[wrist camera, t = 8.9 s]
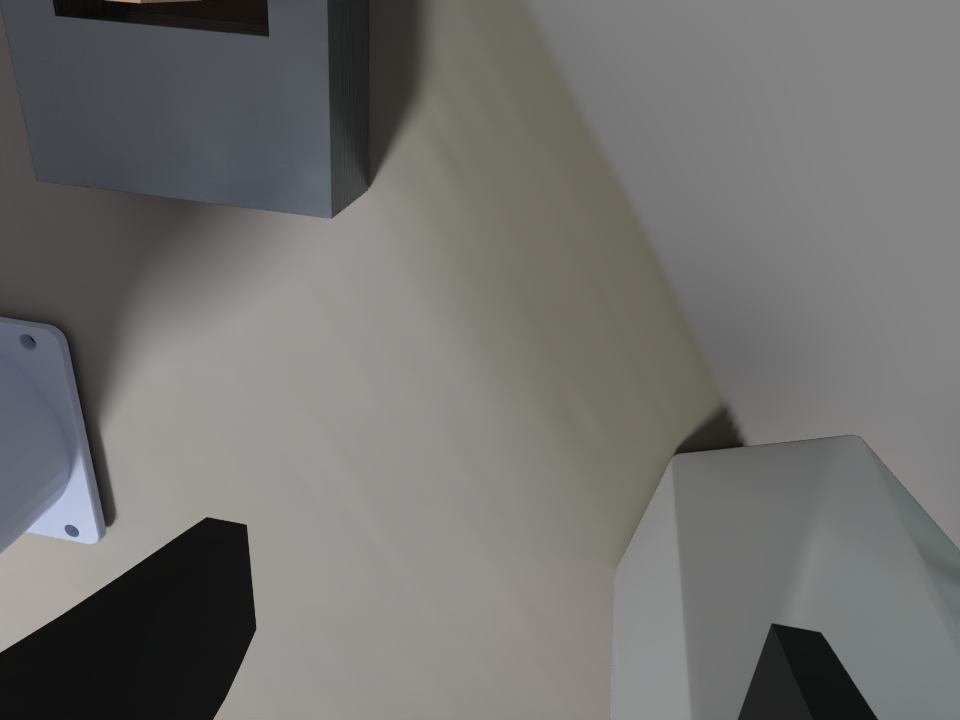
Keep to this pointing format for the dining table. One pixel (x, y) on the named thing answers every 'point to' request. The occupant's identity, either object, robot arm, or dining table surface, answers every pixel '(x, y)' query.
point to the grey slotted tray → (198, 101)
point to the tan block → (151, 1)
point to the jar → (784, 582)
